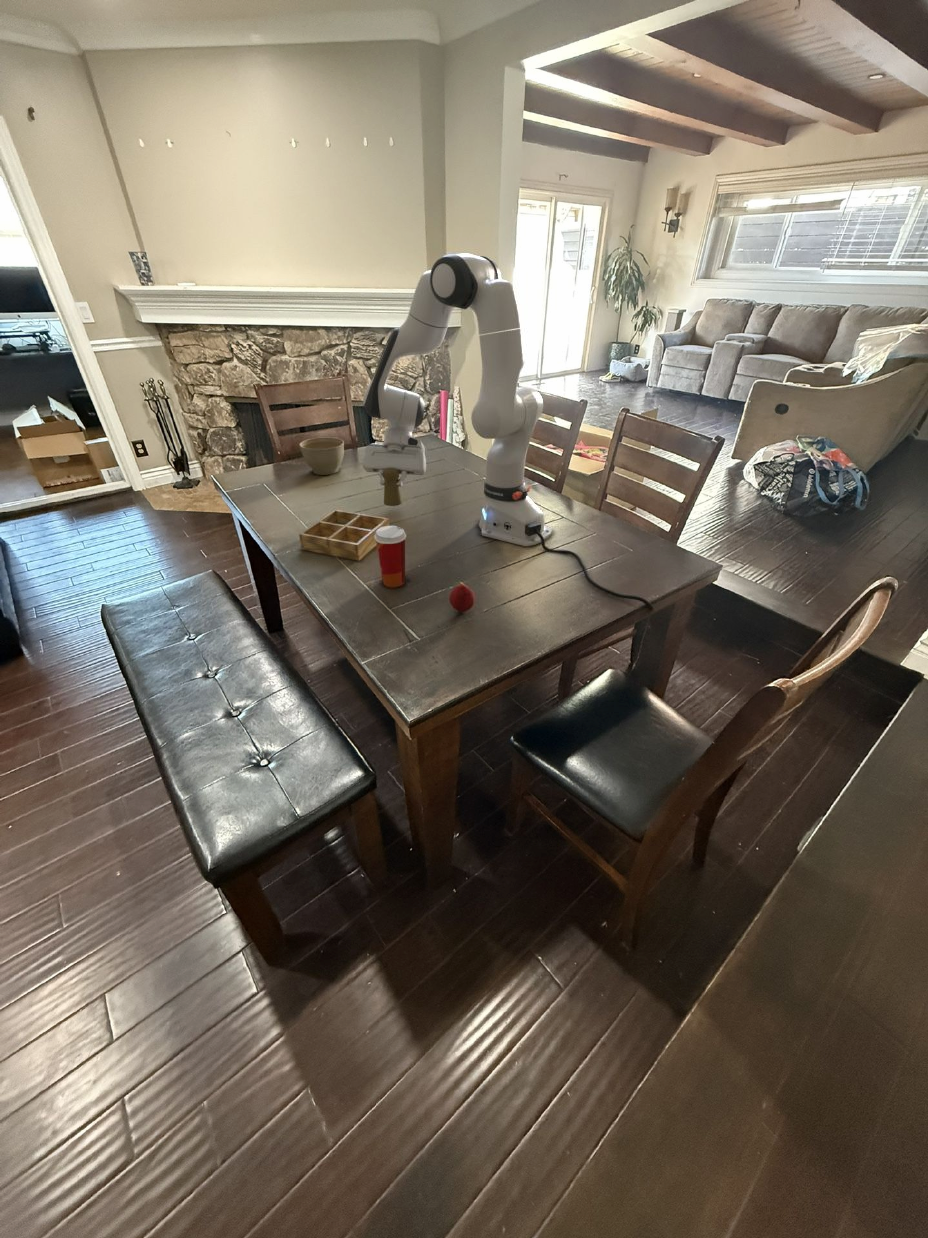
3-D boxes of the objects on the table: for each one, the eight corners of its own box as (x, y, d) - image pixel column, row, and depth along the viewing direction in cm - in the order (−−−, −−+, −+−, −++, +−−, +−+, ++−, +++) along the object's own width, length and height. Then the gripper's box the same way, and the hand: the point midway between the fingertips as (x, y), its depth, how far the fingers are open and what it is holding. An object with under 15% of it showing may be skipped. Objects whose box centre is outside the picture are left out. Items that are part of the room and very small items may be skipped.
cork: (401, 506, 163) (398, 472, 156) (382, 505, 163) (379, 472, 157) (403, 498, 168) (401, 465, 161) (385, 498, 168) (382, 465, 162)
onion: (473, 605, 122) (474, 576, 117) (475, 618, 117) (475, 589, 113) (449, 605, 122) (449, 576, 117) (449, 619, 117) (449, 589, 112)
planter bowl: (355, 469, 199) (352, 440, 193) (326, 481, 188) (321, 451, 182) (325, 461, 206) (321, 434, 200) (295, 473, 195) (290, 444, 189)
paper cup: (394, 571, 135) (390, 521, 127) (415, 580, 131) (412, 530, 123) (372, 582, 130) (366, 532, 122) (393, 593, 126) (389, 541, 118)
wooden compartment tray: (389, 533, 153) (388, 518, 151) (359, 560, 139) (357, 544, 137) (336, 523, 159) (334, 509, 156) (301, 549, 144) (298, 534, 142)
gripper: (363, 437, 162) (356, 478, 160) (426, 441, 159) (419, 482, 157) (369, 448, 168) (362, 487, 166) (430, 451, 165) (424, 491, 163)
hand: (391, 485), depth 161 cm, fingers closed on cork, 4 cm apart
